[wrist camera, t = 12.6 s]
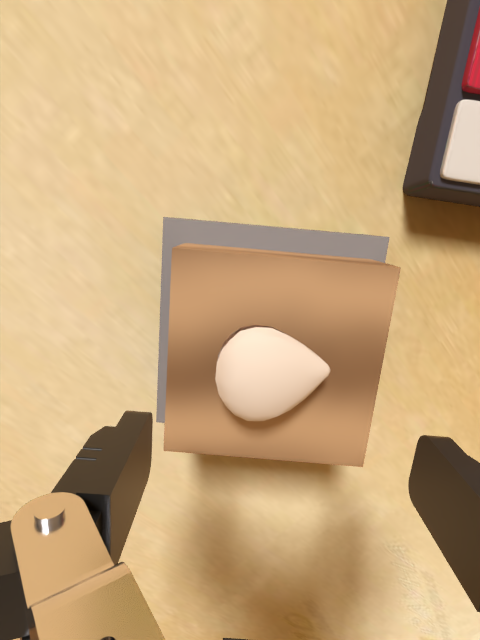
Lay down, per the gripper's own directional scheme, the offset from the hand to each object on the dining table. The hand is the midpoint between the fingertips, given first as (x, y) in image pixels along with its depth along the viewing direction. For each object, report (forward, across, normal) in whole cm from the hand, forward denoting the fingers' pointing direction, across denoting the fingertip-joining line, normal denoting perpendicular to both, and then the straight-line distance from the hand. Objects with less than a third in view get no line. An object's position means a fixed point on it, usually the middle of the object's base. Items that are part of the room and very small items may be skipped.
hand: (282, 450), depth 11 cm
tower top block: (+11, 0, 0) cm, 11 cm away
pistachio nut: (+7, 0, 0) cm, 7 cm away
